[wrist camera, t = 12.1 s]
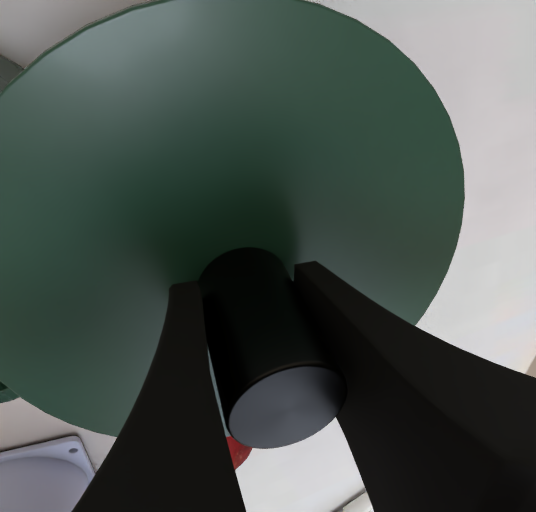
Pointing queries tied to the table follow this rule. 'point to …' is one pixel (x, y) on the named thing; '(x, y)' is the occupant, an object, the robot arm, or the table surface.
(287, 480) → the table surface
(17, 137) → the lid
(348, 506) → the unicorn horn
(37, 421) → the table surface
